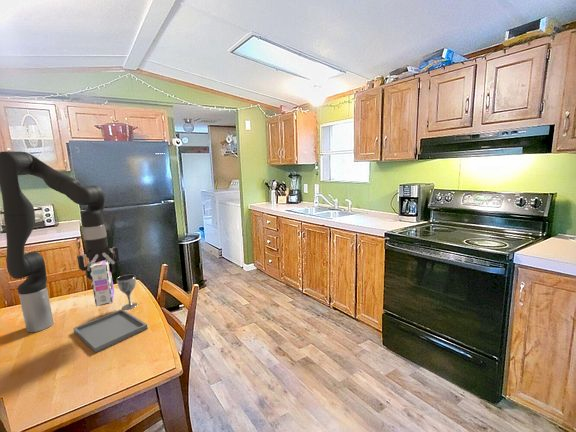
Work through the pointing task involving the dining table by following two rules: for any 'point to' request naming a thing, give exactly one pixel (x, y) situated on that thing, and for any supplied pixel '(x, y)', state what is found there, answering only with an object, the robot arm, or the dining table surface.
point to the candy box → (102, 282)
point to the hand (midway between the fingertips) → (101, 275)
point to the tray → (109, 330)
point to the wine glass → (127, 288)
